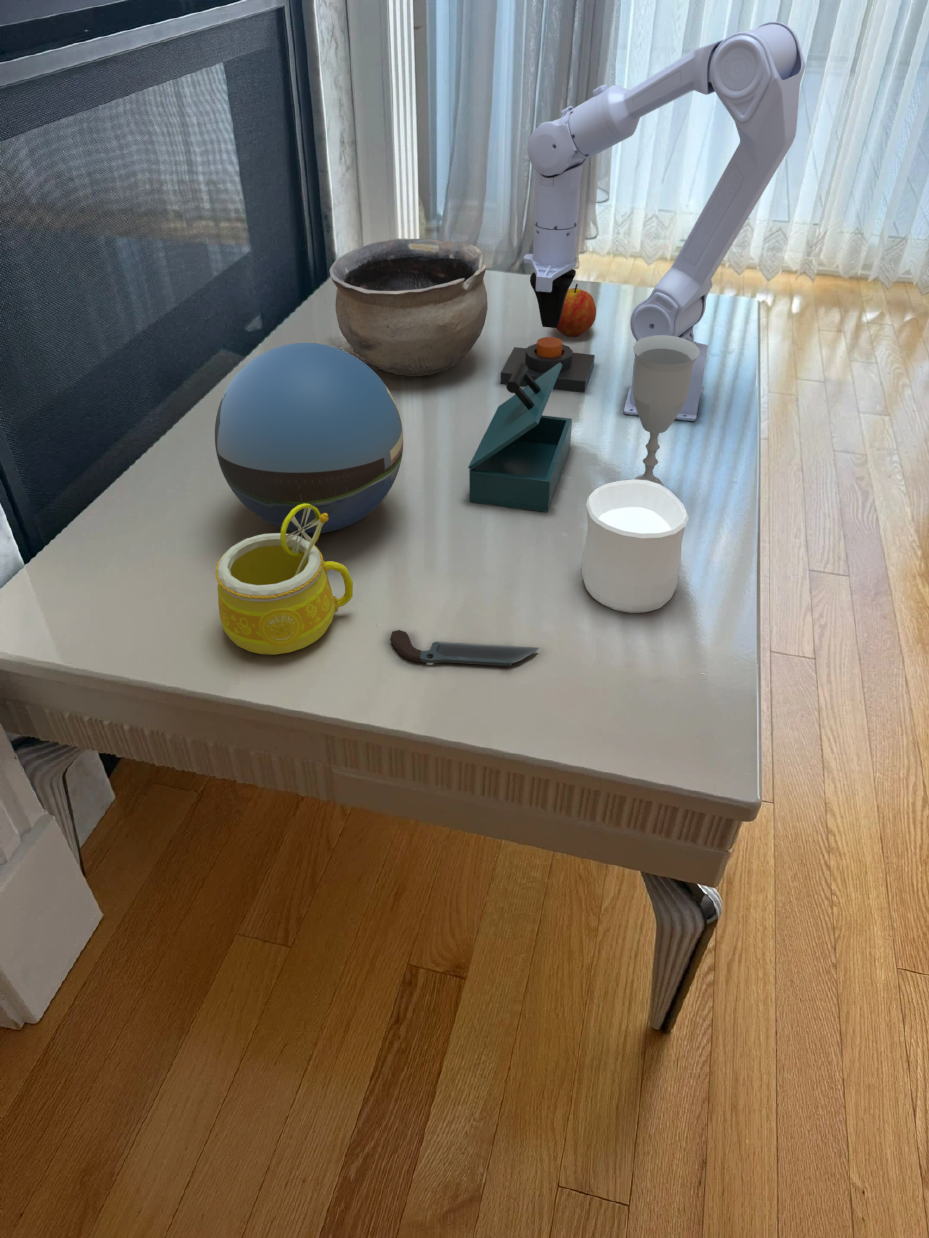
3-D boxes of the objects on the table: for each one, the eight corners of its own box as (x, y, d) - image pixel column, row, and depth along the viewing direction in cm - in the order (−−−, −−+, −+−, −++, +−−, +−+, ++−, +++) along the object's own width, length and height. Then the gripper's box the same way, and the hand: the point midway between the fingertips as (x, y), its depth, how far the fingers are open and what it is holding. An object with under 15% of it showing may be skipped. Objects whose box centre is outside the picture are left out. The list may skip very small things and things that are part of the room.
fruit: (541, 330, 142) (543, 279, 137) (579, 323, 144) (583, 272, 139) (563, 347, 137) (566, 294, 132) (602, 338, 139) (607, 287, 134)
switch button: (563, 350, 129) (564, 338, 128) (559, 360, 126) (560, 348, 125) (539, 347, 130) (539, 335, 128) (534, 357, 127) (534, 345, 126)
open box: (570, 448, 113) (572, 418, 111) (547, 512, 102) (549, 481, 100) (498, 439, 115) (499, 410, 113) (469, 502, 104) (469, 471, 101)
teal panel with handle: (562, 365, 107) (539, 336, 105) (538, 424, 96) (512, 393, 94) (500, 409, 113) (477, 382, 111) (470, 470, 101) (444, 441, 100)
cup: (611, 546, 97) (620, 467, 91) (694, 581, 92) (710, 500, 86) (560, 589, 91) (566, 508, 85) (646, 629, 86) (659, 546, 80)
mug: (228, 674, 82) (202, 569, 74) (220, 602, 90) (196, 500, 83) (366, 648, 85) (355, 544, 77) (347, 580, 93) (335, 480, 85)
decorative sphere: (207, 563, 95) (165, 388, 83) (264, 469, 110) (236, 308, 97) (388, 577, 93) (373, 399, 80) (421, 479, 108) (413, 316, 95)
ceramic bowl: (475, 402, 123) (474, 293, 114) (321, 392, 126) (308, 285, 116) (496, 337, 140) (497, 238, 130) (360, 330, 143) (351, 232, 133)
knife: (385, 661, 83) (385, 656, 83) (392, 633, 86) (392, 628, 86) (537, 670, 82) (537, 665, 81) (539, 642, 85) (539, 636, 85)
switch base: (593, 365, 132) (595, 342, 130) (584, 392, 125) (586, 368, 123) (514, 357, 134) (514, 335, 132) (500, 383, 128) (500, 360, 125)
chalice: (674, 518, 101) (699, 367, 89) (613, 512, 102) (630, 361, 90) (675, 484, 106) (699, 337, 95) (618, 479, 108) (634, 333, 96)
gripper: (536, 205, 123) (532, 304, 131) (513, 238, 112) (511, 343, 121) (587, 209, 121) (580, 308, 130) (569, 242, 111) (563, 348, 119)
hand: (550, 325), depth 125 cm, fingers closed
